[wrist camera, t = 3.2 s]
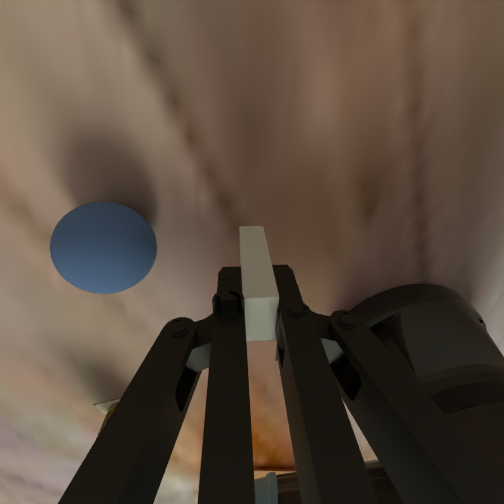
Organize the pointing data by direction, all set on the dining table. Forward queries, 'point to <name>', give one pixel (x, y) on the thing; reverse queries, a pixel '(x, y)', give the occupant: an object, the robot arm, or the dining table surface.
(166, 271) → the dining table surface
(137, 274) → the ball
